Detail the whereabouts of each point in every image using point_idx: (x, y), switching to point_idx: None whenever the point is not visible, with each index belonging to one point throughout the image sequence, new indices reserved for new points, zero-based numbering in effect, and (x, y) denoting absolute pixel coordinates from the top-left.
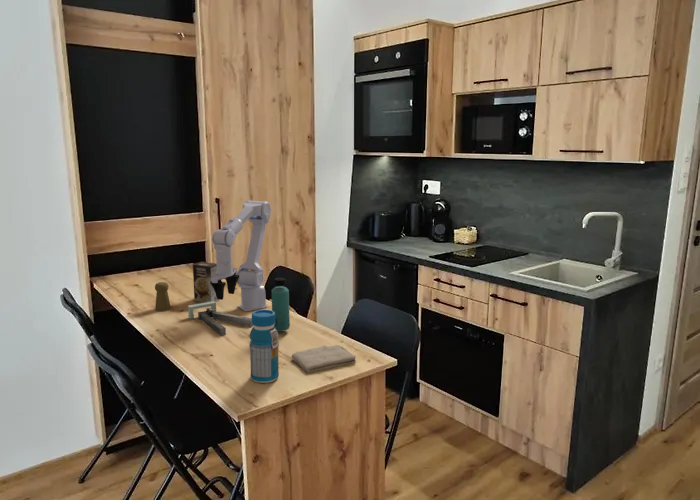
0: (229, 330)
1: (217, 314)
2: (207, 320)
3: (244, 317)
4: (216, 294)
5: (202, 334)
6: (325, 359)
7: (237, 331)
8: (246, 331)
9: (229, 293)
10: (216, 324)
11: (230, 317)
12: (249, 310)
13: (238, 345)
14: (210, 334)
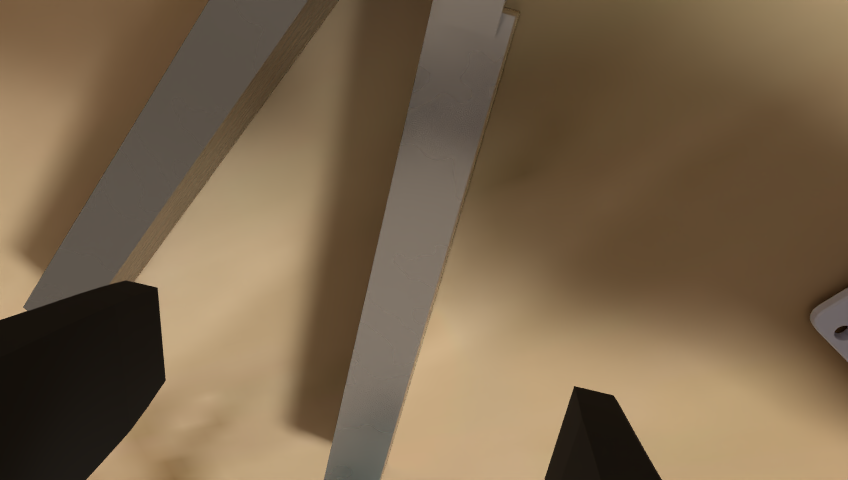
0: (205, 306)
1: (414, 94)
2: (183, 54)
3: (381, 432)
4: (14, 332)
5: (17, 105)
6: None
7: (213, 372)
8: (240, 433)
9: (569, 408)
10: (93, 232)
11: (369, 286)
12: (837, 348)
13: None
14: (55, 180)
